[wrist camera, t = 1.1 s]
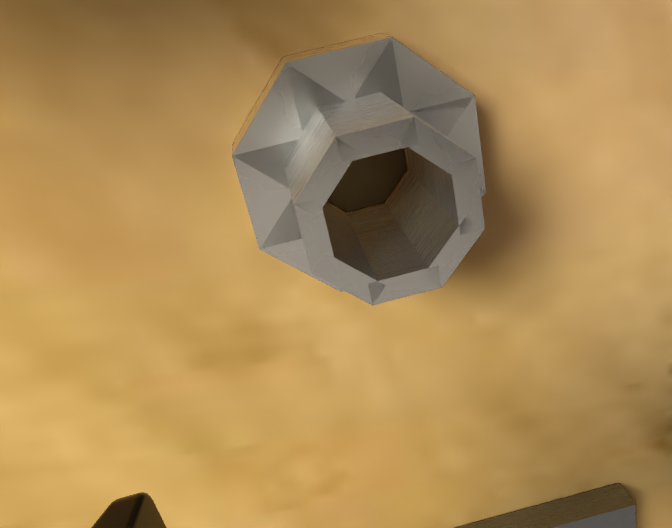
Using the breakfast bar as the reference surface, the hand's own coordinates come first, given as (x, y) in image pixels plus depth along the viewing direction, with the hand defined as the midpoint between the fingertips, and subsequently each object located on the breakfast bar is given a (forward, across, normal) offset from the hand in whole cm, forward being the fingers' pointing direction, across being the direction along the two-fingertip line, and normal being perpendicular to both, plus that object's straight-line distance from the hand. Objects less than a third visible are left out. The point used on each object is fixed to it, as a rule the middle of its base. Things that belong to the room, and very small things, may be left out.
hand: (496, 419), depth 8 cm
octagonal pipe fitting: (+12, 0, 0) cm, 12 cm away
